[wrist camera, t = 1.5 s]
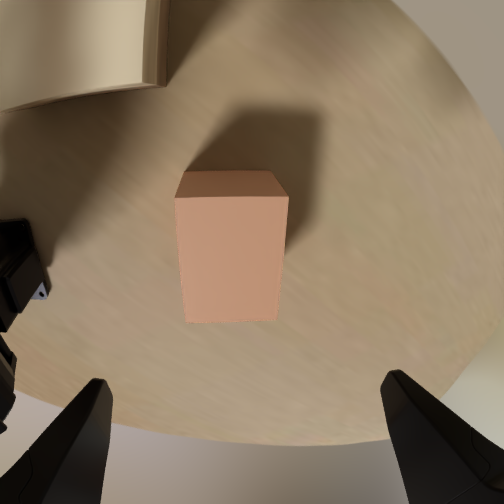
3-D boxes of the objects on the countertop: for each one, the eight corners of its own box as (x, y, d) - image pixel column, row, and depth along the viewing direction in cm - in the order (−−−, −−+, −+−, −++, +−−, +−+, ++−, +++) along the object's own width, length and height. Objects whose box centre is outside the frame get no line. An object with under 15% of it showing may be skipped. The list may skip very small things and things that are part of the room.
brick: (190, 273, 21) (185, 323, 16) (184, 170, 17) (174, 197, 13) (264, 271, 21) (277, 319, 17) (270, 170, 18) (288, 196, 14)
